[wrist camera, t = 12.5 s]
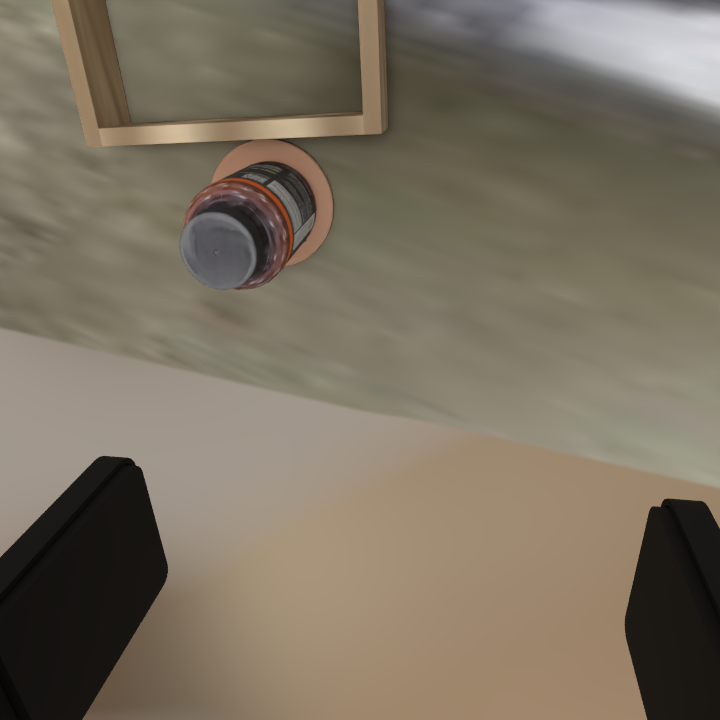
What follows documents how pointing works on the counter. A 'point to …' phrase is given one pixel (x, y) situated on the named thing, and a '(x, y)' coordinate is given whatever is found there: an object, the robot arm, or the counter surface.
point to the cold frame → (113, 126)
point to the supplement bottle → (247, 226)
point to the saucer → (300, 162)
